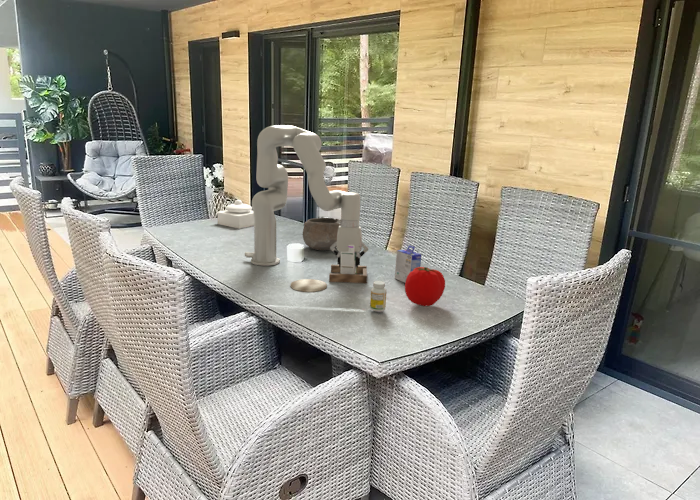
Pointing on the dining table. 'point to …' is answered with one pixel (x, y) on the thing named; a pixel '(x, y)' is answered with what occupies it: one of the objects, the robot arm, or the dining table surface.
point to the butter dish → (236, 215)
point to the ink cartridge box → (406, 263)
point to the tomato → (424, 286)
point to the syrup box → (348, 261)
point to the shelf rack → (348, 275)
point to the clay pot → (320, 233)
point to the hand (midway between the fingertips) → (348, 266)
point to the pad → (308, 285)
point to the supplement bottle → (378, 296)
